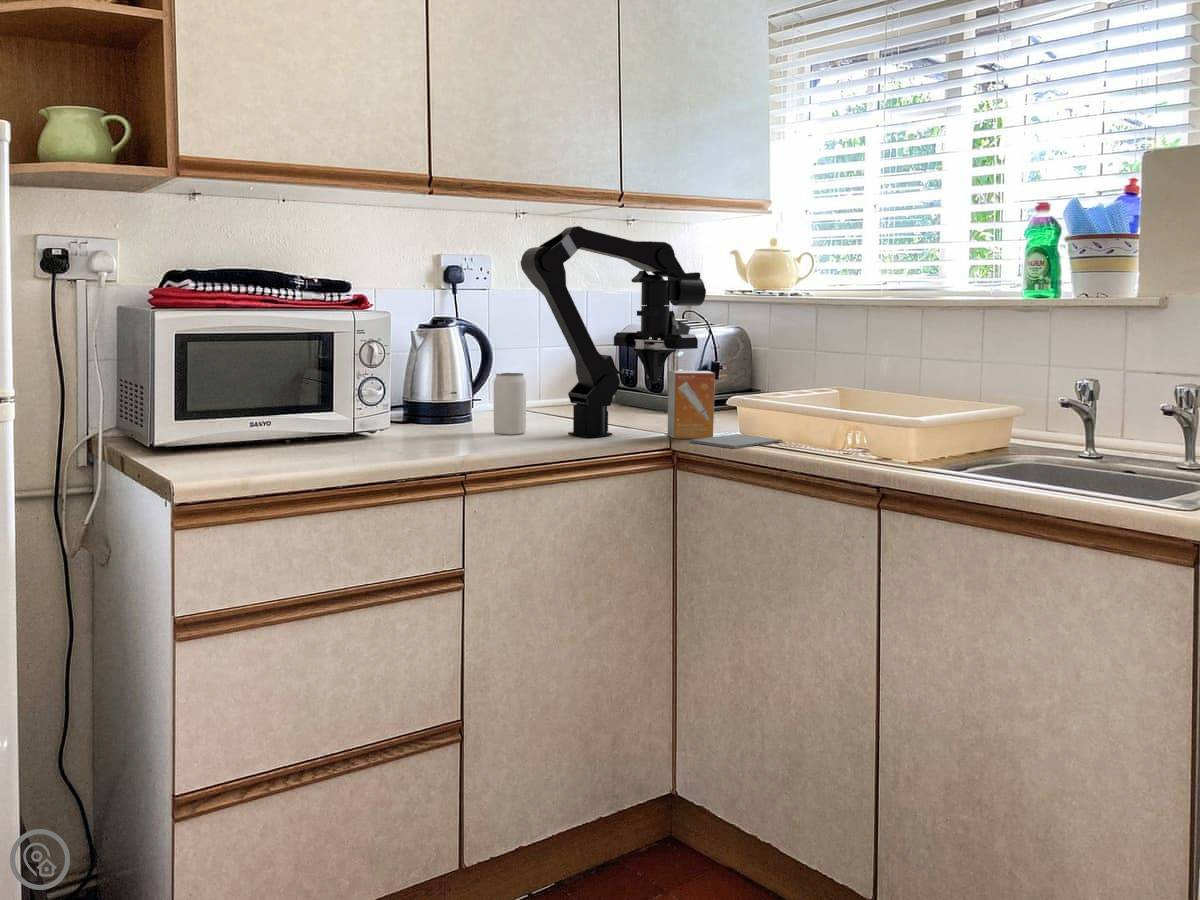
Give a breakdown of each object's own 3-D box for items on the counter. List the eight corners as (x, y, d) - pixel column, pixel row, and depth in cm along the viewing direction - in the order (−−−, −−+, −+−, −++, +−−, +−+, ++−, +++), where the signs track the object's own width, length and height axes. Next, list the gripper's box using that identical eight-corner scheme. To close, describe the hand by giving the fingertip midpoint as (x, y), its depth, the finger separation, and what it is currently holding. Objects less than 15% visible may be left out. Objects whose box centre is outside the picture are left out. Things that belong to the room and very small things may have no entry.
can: (532, 433, 215) (532, 373, 213) (508, 436, 210) (508, 375, 208) (511, 430, 219) (510, 372, 217) (487, 433, 214) (486, 373, 213)
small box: (673, 439, 207) (674, 372, 206) (666, 435, 214) (668, 370, 212) (714, 439, 209) (715, 372, 207) (706, 435, 215) (707, 370, 213)
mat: (734, 448, 195) (734, 445, 195) (690, 442, 203) (690, 439, 203) (782, 442, 204) (782, 439, 204) (737, 436, 212) (737, 434, 212)
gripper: (716, 306, 214) (715, 384, 216) (649, 305, 227) (648, 378, 229) (679, 306, 206) (677, 387, 208) (612, 305, 220) (611, 381, 222)
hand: (654, 383), depth 217 cm, fingers closed
